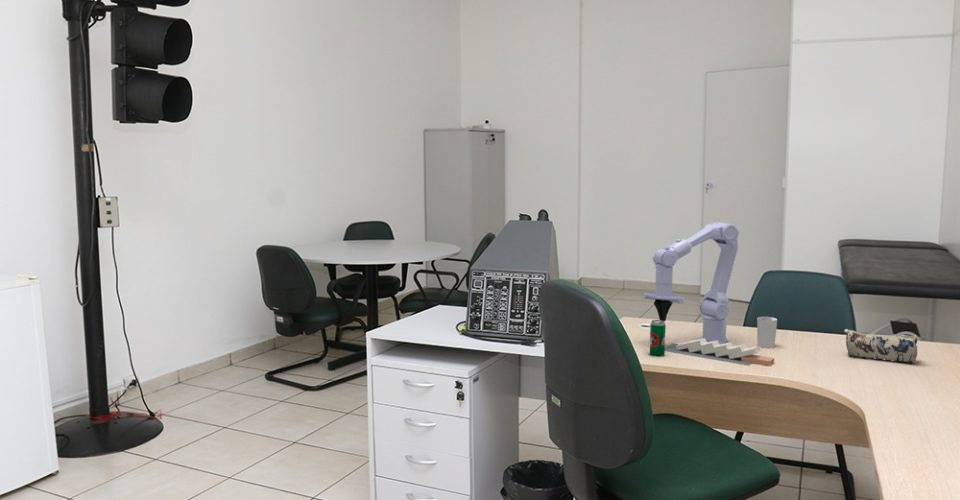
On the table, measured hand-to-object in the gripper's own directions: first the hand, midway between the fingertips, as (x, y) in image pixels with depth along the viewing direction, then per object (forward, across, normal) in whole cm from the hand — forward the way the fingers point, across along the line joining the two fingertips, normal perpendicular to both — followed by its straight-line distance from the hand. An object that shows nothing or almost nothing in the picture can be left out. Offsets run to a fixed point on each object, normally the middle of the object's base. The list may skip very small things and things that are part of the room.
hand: (662, 320), depth 259 cm
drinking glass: (+10, +29, +25) cm, 39 cm away
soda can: (+10, +4, -12) cm, 16 cm away
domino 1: (+8, +7, 0) cm, 11 cm away
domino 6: (+8, +29, 0) cm, 30 cm away
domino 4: (+8, +20, 0) cm, 22 cm away
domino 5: (+8, +25, 0) cm, 26 cm away
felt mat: (+10, +17, 0) cm, 20 cm away
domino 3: (+8, +16, 0) cm, 18 cm away
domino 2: (+8, +11, 0) cm, 14 cm away
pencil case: (+10, +64, +31) cm, 72 cm away
